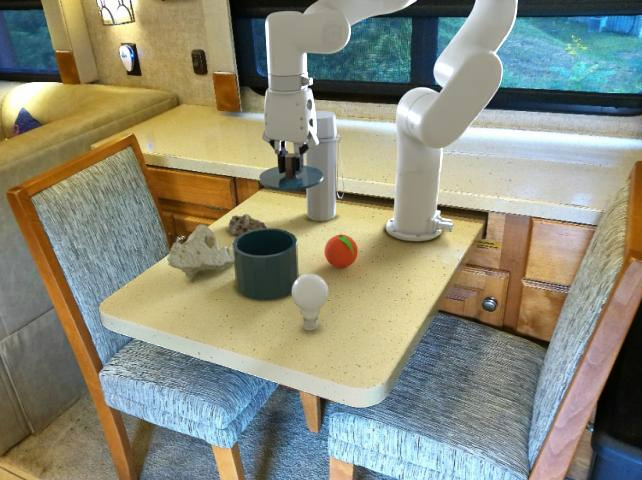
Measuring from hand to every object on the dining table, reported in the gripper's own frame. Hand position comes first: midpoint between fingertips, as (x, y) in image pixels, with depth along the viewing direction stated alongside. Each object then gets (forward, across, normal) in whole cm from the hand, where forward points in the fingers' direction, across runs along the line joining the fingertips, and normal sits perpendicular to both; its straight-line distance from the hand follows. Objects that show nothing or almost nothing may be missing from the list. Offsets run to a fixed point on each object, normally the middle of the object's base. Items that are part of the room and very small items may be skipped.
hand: (290, 171), depth 126 cm
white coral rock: (+18, +10, +20) cm, 29 cm away
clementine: (+18, -14, +4) cm, 23 cm away
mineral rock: (+18, +14, -2) cm, 23 cm away
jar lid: (+1, 0, 0) cm, 1 cm away
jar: (+18, -4, +17) cm, 25 cm away
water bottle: (+18, +1, -17) cm, 25 cm away
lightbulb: (+18, -19, +27) cm, 37 cm away
